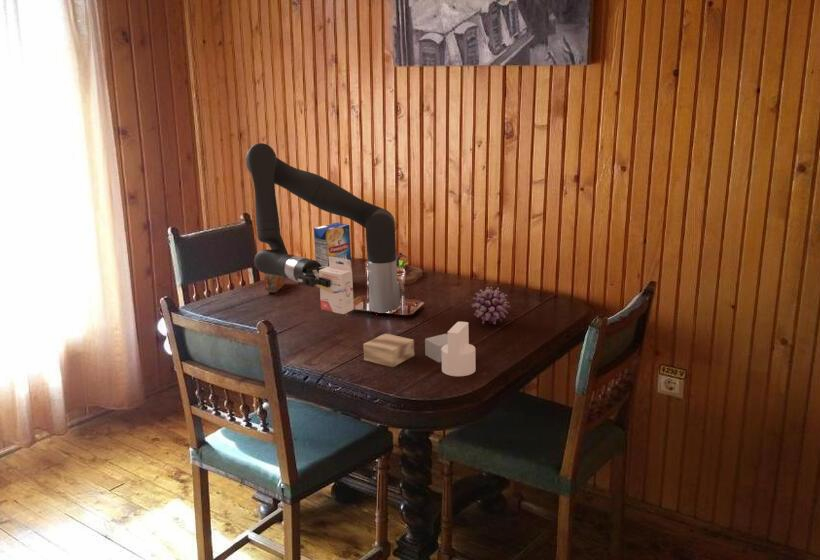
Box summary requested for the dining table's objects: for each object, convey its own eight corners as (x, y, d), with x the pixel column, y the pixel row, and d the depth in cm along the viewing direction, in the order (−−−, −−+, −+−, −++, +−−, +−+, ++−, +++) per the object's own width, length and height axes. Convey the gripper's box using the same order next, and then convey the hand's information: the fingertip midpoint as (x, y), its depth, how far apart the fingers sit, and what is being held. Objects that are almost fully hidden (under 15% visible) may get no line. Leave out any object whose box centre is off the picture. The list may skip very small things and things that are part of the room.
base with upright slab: (469, 378, 212) (469, 334, 208) (437, 373, 215) (436, 331, 212) (479, 365, 220) (479, 323, 216) (448, 361, 223) (447, 320, 220)
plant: (380, 269, 317) (379, 241, 314) (428, 272, 310) (427, 244, 307) (359, 283, 299) (358, 253, 296) (409, 287, 292) (408, 257, 289)
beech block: (386, 349, 234) (385, 333, 232) (414, 356, 228) (413, 339, 227) (364, 360, 226) (363, 343, 225) (392, 368, 220) (392, 350, 219)
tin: (272, 295, 287) (270, 272, 284) (263, 295, 287) (261, 272, 285) (286, 283, 301) (285, 261, 298) (278, 283, 301) (277, 261, 299)
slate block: (446, 350, 232) (445, 333, 230) (460, 357, 226) (459, 340, 225) (425, 355, 228) (424, 338, 227) (439, 363, 222) (438, 346, 221)
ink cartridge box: (319, 309, 231) (316, 259, 226) (331, 305, 235) (328, 255, 230) (343, 314, 226) (341, 263, 222) (354, 309, 230) (352, 259, 226)
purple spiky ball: (473, 330, 246) (472, 293, 242) (470, 318, 257) (470, 281, 254) (511, 329, 246) (511, 292, 242) (507, 317, 257) (507, 280, 254)
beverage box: (317, 287, 294) (313, 228, 288) (339, 280, 302) (336, 222, 296) (329, 291, 290) (326, 230, 284) (352, 284, 297) (349, 225, 291)
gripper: (281, 263, 233) (317, 273, 221) (321, 253, 242) (358, 262, 230) (283, 288, 235) (318, 300, 223) (323, 277, 244) (359, 288, 232)
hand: (338, 281), depth 227 cm, fingers closed on ink cartridge box, 6 cm apart
